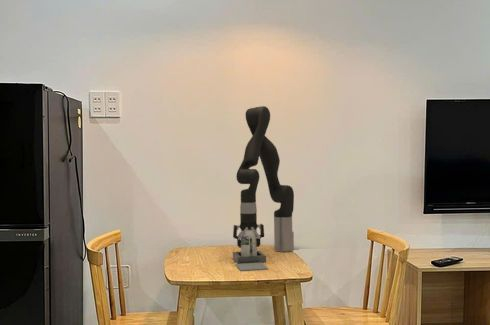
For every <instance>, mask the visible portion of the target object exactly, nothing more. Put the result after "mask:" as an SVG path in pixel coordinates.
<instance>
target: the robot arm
mask: <svg viewBox="0 0 490 325" xmlns="http://www.w3.org/2000/svg"><path fill="white" fill-rule="evenodd" d="M244 116H245V120H246V124H247V128H249V131H250V133H251V137H250V139H249V141H248V142H247V144H246V147H245V149H244V155H243V158H242V162H241V164H240V165H239V168H238V169H237V172H236V181H237V183H239V184H240V185H249V186H248V188H246V189H245V188H244V189H242V190H240V206H239V208H240V209H239V210H240V211H239V214H240V220H239V221H240V223H239V224H238V225H237V224H234V225H233V227H232V228H233V230H232V232H233V233H232V237H233V239H235V240H236V242H237V243H236V244H237V247H238V249H241V237H242V236H243V235H244V234H245V232H244V231H246V230H250V229H251V230H254V233H255V232H256V229H259V231H260V232H259V233H260V234H259V233H258V231H257V232H256V233H255V235H256V236H257V248H258V247H260V246H261V239H262V238H265V227H264V224H263V223H259V224H258V223H257V222H258V221H257V216H258V215H257V189H258V184H259V181H260V173H259V171H258V170H257V169H256V168H252V167H255V166H257V165H258V164H259V159H260V162H261V165H262V168H263V171H264V175H265V178H266V182H267V186H268V191H269V196H270V198H271V201H273V202H274V203H277V204H280V205H279V206H280V207H279V208H278V209H276V210H274V212H273V226H274V227H273V233H274V234H273V236H274V237H273V238H274V240H273V242H274V244H273V245H274V247H273V248H274V249H273V250H274V251H276V252H278V253H279V252H281V253H283V252H284V253H287V252H293V251H295V248H294V247H295V245H294V244H295V241H294V240H295V237H294V236H295V235H294V231H293V213H294V208H295V207H294V205H295V204H294V201H295V194H294V193H295V192H294V189H293V187H292V186H291V185H287V184H281V183H280V179H279V176H278V171H279V167H280V162H281V159H280V156H279V153H278V149H277V147H276V145H275V144H274V143H273V142H272V141H271V140H270V139H269V138H268V137H267V136H266V133H267V130H268V127H269V125H270V121H271V112H270V109H269V108H268V106H264V105H262V106H260V105H259V106H255V107H250V108H248V109H246V111H245V115H244ZM239 229H240V232H239V234H238V230H239ZM241 230H242V231H243V232H242V233H241Z"/></svg>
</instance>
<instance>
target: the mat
mask: <svg viewBox="0 0 490 325" xmlns="http://www.w3.org/2000/svg"><path fill="white" fill-rule="evenodd" d="M234 265H235V266H236V268H237V269H238V271H240V272H249V271H251V272H253V271H265V270H269V268H268V266H266V265H265V263H262V262H261V263H244V264H237V263H235V264H234Z"/></svg>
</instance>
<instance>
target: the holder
mask: <svg viewBox="0 0 490 325" xmlns="http://www.w3.org/2000/svg"><path fill="white" fill-rule="evenodd" d="M232 259H233V260H234V261H235V264H244V263H261V262H262V263H263V264H265V263H266V264H267V255H266V254H264V253H263V252H262V251H261V250H257V256H244V257H241V251H232Z"/></svg>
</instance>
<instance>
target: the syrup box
mask: <svg viewBox="0 0 490 325" xmlns="http://www.w3.org/2000/svg"><path fill="white" fill-rule="evenodd" d="M257 229H258V228H257ZM257 229H256V232H257V233H258V231H257ZM240 232H241V233H242V232H243V231H242V230H241V229H240ZM244 232H245V234H244V235H243V236H242V237H241V239H240V240H241V248H240V252H241V257H244V256H257V251H258V247H257V236H256V235H255V233H256V232H255V233H254V230H251V229H250V230H246V231H244Z"/></svg>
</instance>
